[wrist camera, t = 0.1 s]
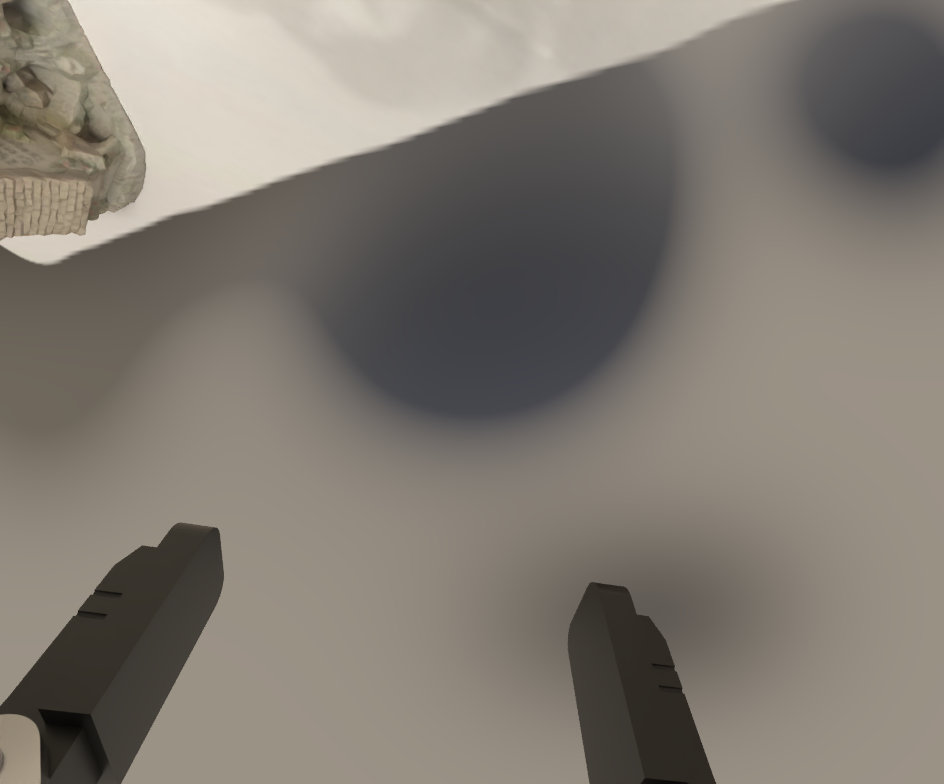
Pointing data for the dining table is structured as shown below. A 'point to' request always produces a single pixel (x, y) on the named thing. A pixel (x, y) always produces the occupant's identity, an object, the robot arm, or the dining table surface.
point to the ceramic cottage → (59, 126)
